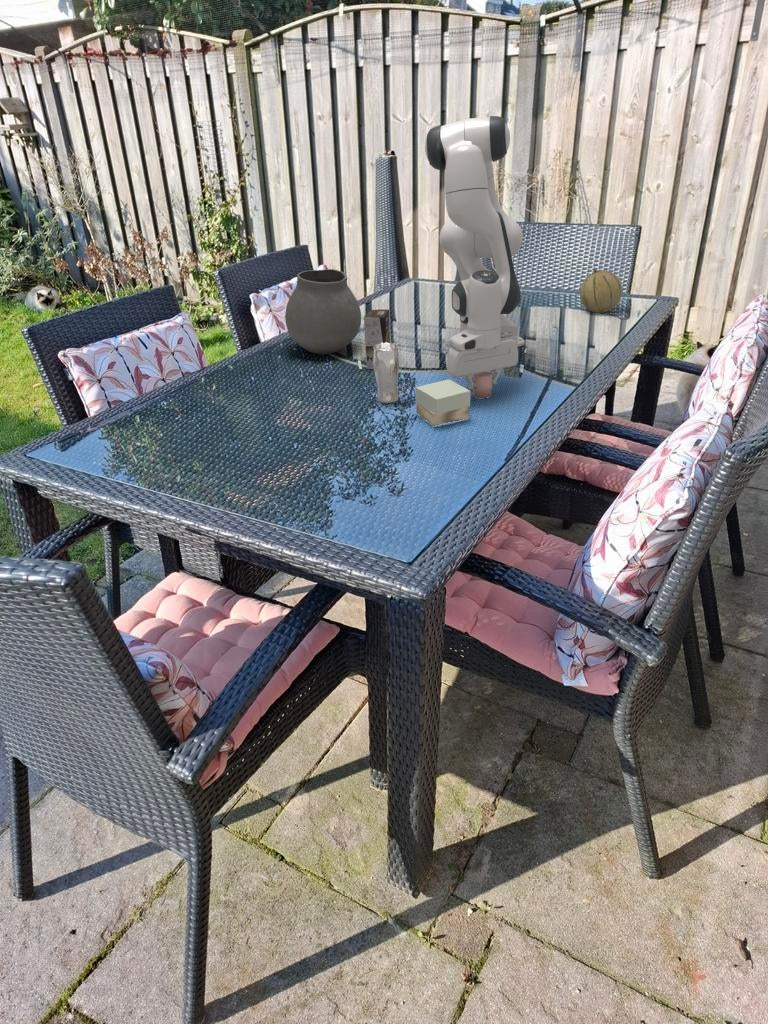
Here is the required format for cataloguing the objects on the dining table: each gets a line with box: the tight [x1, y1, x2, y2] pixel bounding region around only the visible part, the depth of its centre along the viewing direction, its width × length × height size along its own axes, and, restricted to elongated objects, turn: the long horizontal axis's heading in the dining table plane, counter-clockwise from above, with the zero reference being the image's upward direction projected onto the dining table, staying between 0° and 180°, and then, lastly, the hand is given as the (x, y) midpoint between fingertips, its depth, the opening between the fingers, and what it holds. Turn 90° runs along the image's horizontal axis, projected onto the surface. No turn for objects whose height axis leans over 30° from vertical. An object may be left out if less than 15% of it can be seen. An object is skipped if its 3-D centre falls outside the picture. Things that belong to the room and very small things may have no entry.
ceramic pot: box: [284, 268, 362, 355], centre depth 226 cm, size 24×24×25 cm
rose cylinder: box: [472, 371, 493, 399], centre depth 190 cm, size 5×5×6 cm
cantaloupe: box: [579, 269, 623, 314], centre depth 253 cm, size 15×15×15 cm
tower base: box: [415, 401, 470, 426], centre depth 180 cm, size 10×10×4 cm
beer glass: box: [373, 342, 400, 405], centre depth 189 cm, size 7×7×15 cm
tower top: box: [415, 379, 471, 415], centre depth 178 cm, size 10×10×4 cm
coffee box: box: [363, 309, 392, 370], centre depth 214 cm, size 9×6×16 cm
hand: (482, 386), depth 191 cm, fingers closed on rose cylinder, 5 cm apart
